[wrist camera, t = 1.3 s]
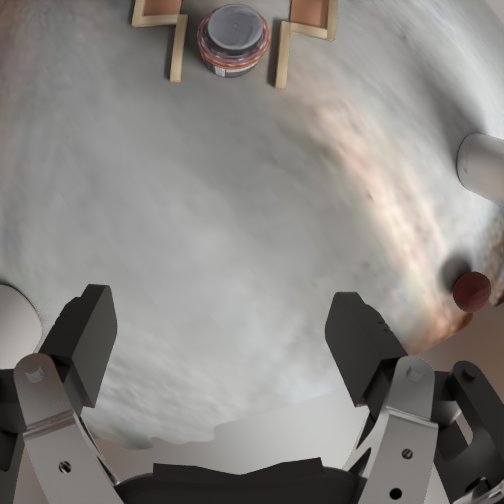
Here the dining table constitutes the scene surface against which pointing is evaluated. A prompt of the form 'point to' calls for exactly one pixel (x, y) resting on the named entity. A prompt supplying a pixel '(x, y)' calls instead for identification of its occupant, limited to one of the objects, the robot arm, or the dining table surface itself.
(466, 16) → the dining table surface
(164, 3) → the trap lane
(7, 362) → the cylinder vase
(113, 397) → the dining table surface
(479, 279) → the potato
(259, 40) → the supplement bottle
